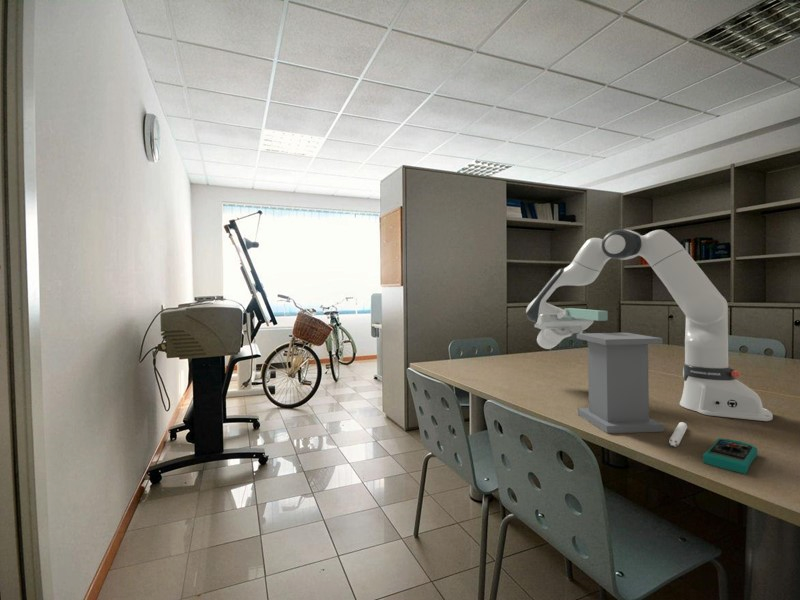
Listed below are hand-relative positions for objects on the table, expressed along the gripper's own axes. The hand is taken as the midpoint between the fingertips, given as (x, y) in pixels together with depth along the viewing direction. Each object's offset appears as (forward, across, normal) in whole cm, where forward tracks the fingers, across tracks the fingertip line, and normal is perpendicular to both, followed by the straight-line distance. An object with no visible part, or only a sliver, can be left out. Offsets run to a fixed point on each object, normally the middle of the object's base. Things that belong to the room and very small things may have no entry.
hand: (573, 311), depth 136 cm
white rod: (+17, +9, +47) cm, 51 cm away
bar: (+6, 0, +6) cm, 8 cm away
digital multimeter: (+28, +11, +54) cm, 62 cm away
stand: (+7, 0, +41) cm, 41 cm away
